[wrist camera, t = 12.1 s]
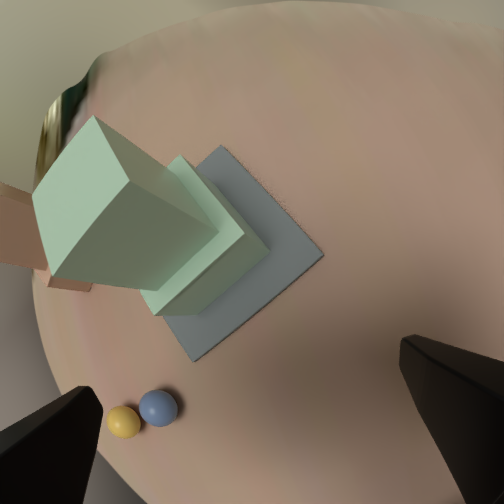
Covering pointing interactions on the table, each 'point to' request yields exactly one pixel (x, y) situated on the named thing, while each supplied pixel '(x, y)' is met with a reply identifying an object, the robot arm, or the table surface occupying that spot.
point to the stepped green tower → (141, 224)
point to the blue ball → (158, 408)
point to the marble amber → (123, 422)
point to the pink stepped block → (26, 238)
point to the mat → (259, 276)
